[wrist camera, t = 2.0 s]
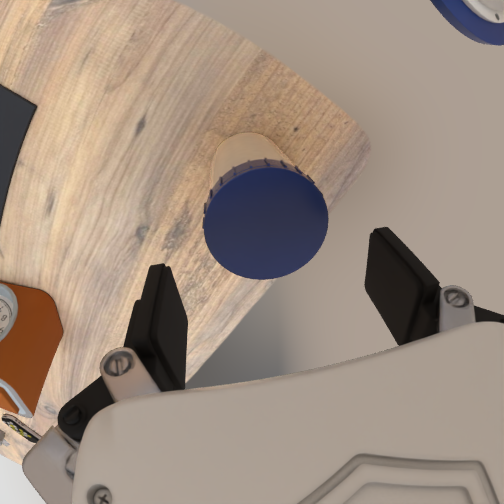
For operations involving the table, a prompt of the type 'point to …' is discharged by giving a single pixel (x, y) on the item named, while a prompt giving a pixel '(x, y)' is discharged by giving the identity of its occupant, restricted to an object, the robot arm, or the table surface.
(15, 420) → the remote control
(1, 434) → the skate ramp
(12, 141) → the mat
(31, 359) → the alarm clock
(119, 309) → the table surface
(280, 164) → the lid
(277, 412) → the robot arm
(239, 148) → the jar
